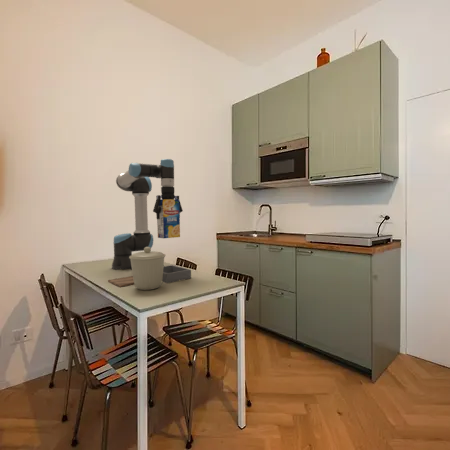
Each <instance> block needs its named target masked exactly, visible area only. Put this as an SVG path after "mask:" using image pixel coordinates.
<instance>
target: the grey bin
mask: <svg viewBox="0 0 450 450" xmlns="http://www.w3.org/2000/svg"><path fill="white" fill-rule="evenodd" d="M191 278H192V270H191V269H190V268H185V267H182V266H177V265H174V264H171V265H165V266H164V268H163V278H162V283H166V284H170V283H174V282H175V283H176V282H179V280H180V281H184V279H185V280H189V279H191Z"/></svg>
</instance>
